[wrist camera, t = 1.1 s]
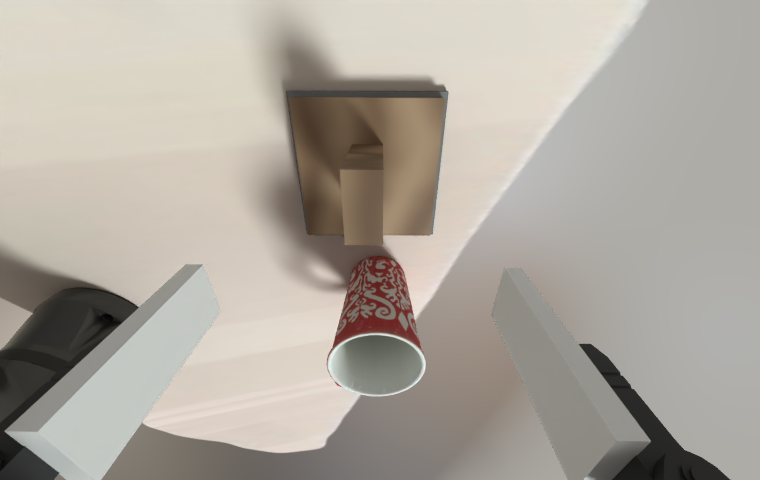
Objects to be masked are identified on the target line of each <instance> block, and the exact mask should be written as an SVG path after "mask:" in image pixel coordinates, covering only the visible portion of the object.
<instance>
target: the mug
mask: <svg viewBox="0 0 760 480" xmlns="http://www.w3.org/2000/svg"><path fill="white" fill-rule="evenodd" d="M327 368H328V372H329V374H330V376H331V377H332V379H333V380H334V381H335V383H336V384H337V385H338V386H340V387H343V388H345V389H347V390H349V391H352V392H354V393H358V394H362V395H367V396H387V395H393V394H397V393H400V392H403V391H405V390H407V389H409V388H411V387H412V386H413V385H414V384H416V383H417V382H418V381H419V380H420V379H421V377H422V376H423V374H424V371H425V368H426V359H425V356H424V353H423V352H422V350H421V346H420V342H419V337H418V332H417V328H416V324H415V319H414V315H413V310H412V305H411V301H410V297H409V292H408V288H407V283H406V278H405V275H404V272H403V270H402V268H401V267H400V265H399V264H397V263H396V262H395V261H393V260H391V259H389V258H386V257H370V258H367V259H365V260H363V261H361V262H360V263H359V264H357V266H356V267H355V268H354V270H353V272H352V275H351V278H350V282H349V287H348V290H347V294H346V298H345V302H344V306H343V310H342V314H341V317H340V320H339V324H338V328H337V332H336V336H335V340H334V344H333V348H332V349H331V351H330V353H329V355H328V358H327Z"/></svg>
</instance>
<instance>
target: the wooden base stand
mask: <svg viewBox="0 0 760 480" xmlns="http://www.w3.org/2000/svg"><path fill="white" fill-rule="evenodd" d="M289 103H290V110H291V117H292V124H293V131H294V138H295V145H296V152H297V159H298V166H299V173H300V180H301V187H302V194H303V201H304V208H305V215H306V222H307V229H308V235H344V240H345V245H383V235H430V233H431V224H432V214H433V205H434V196H435V186H436V177H437V168H438V159H439V149H440V140H441V131H442V121H443V112H444V103H445V98H412V97H289Z"/></svg>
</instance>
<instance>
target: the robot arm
mask: <svg viewBox="0 0 760 480" xmlns="http://www.w3.org/2000/svg"><path fill="white" fill-rule="evenodd" d="M220 312H221V310H220V307H219V304H218V302H217V299H216V297H215V294H214V291H213V289H212V286H211V283H210V281H209V278H208V276H207V273H206V270H205V268H204V265H185V266H184V267H183V268H182V269H180V270H179V271H178V272H177V273H176V274H175V275H174V276H173V277H172V278H171V279H170V280H169V281H167V282H166V283H165V284H164V285H163V286H162V287H161V288H160V289H159V290H158V291H157V292H155V293H154V294H153V295H152V296H151V297H150V298H149V299H148V300H147V301H146V302H145V303H143V304H142V305H141V306H140V307H139V308H137V307H136V306H134V305H133V304H131V303H129V302H127V301H126V300H124V299H122V298H119V297H117V296H115V295H112V294H109V293H106V292H103V291H99V290H94V289H87V288H72V289H67V290H63V291H61V292H59V293H57V294H55V295H54V296H52V297H51V298H49V299H48V300H46V301H44V302H43V303H42V304H40V305H39V306H38V307H37V308H36V309H35V310H34V313H33V314H32V315H31V316H30V317H29V318H28V320H27V321H26V322H25V323H24V324H23V325H22V327H20V329H19V330H18V331H17V332H16V333H15V335H14V336H13V337H12V338H11V339H10V341H9V342H8V343H7V344H6V345H5V346H4V347H3V348H2V349H1V350H0V480H54V479H55V477H56V476H57V475H58V474H60V475H61V476H63V477H64V478H65V479H66V480H101V479H102V478H103V476H104V475H105V474H106V472H107V471H108V469H109V468H110V466H111V465H112V464H113V462H114V461H115V459H116V458H117V457H118V455H119V454H120V453H121V451H122V450H123V448H124V447H125V445H126V444H127V443H128V441H129V440H130V438H131V437H132V436H133V434H134V433H135V431H136V430H137V429H138V427H139V426H140V424H141V423H142V422H143V420H144V419H145V417H146V416H147V415H148V413H149V412H150V410H151V409H152V408H153V406H154V405H155V403H156V402H157V401H158V399H159V398H160V396H161V395H162V394H163V392H164V391H165V389H166V388H167V387H168V385H169V384H170V382H171V381H172V380H173V378H174V377H175V375H176V374H177V372H178V371H179V370H180V368H181V367H182V365H183V364H184V363H185V361H186V360H187V358H188V357H189V356H190V354H191V353H192V351H193V350H194V349H195V347H196V346H197V344H198V343H199V342H200V340H201V339H202V337H203V336H204V335H205V333H206V332H207V330H208V329H209V328H210V326H211V325H212V323H213V322H214V321H215V319H216V318H217V316H218V315H219V314H220ZM491 315H492V317H493V320H494V322H495V324H496V326H497V328H498V330H499V332H500V335H501V337H502V339H503V341H504V343H505V345H506V348H507V350H508V352H509V354H510V356H511V358H512V361H513V363H514V365H515V367H516V369H517V371H518V373H519V375H520V378H521V380H522V382H523V384H524V386H525V389H526V391H527V393H528V395H529V397H530V399H531V401H532V403H533V406H534V408H535V410H536V412H537V414H538V417H539V419H540V421H541V423H542V425H543V427H544V430H545V432H546V434H547V436H548V438H549V440H550V443H551V445H552V447H553V449H554V451H555V453H556V455H557V458H558V460H559V462H560V464H561V466H562V468H563V471H564V473H565V475H566V477H567V479H568V480H730V479H729V478H727V477H726V476H725V475H724V474H723V473H722V472H721V471H720V470H718V468H717V467H715V466H714V465H712V464H711V463H709V462H707V461H706V460H705V459H703V458H702V457H699V456H697V455H695V454H693V453H690V452H688V451H685V450H684V449H683V448H682V447H681V446H680V445H679V444H678V443H677V441H676V440H675V439H674V438H673V437H672V436H671V434H670V433H669V432H668V431H667V429H666V428H665V427H664V426H663V424H662V423H661V422H660V421H659V420H658V418H657V417H656V416H655V415H654V413H653V412H652V411H651V410H650V409H649V407H648V406H647V405H646V404H645V402H644V401H643V400H642V399H641V398H640V396H639V395H638V394H637V393H636V391H635V390H634V389H632V388H631V385H630V384H629V383H628V382H627V380H626V379H625V378H624V377H623V376H621V375H620V372H619V371H618V369H617V368H616V367H615V366H614V364H613V363H612V362H611V361H610V360H609V358H608V357H607V356H605V355H604V354H603V353H601V352H600V351H599V350H598V349H597V348H595V347H594V346H593V345H591V344H578V343H577V341H576V340H575V339H574V337H573V336H572V335H571V333H570V332H569V331H568V329H567V328H566V327H565V326H564V324H563V323H562V321H561V320H560V319H559V317H558V316H557V314H556V313H555V312H554V310H553V309H552V308H551V307H550V305H549V304H548V302H547V301H546V300H545V299H544V297H543V296H542V294H541V293H540V292H539V290H538V289H537V288H536V286H535V285H534V284H533V282H532V281H531V280H530V279H529V277H528V276H527V274H526V273H525V272H524V270H523V269H522V268H504V270H503V274H502V278H501V281H500V285H499V288H498V292H497V296H496V299H495V302H494V306H493V310H492V313H491Z"/></svg>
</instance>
